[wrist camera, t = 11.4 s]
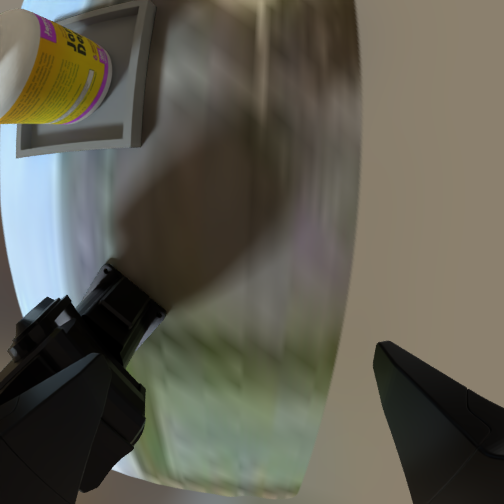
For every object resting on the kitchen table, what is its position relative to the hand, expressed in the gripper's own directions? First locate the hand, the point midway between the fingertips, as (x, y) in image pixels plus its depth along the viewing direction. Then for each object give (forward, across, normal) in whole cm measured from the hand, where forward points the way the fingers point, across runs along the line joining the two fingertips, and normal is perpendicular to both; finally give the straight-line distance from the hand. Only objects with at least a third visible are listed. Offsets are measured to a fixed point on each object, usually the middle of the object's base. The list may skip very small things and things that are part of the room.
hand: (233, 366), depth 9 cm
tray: (+13, +12, -14) cm, 22 cm away
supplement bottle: (+13, +12, -14) cm, 22 cm away
